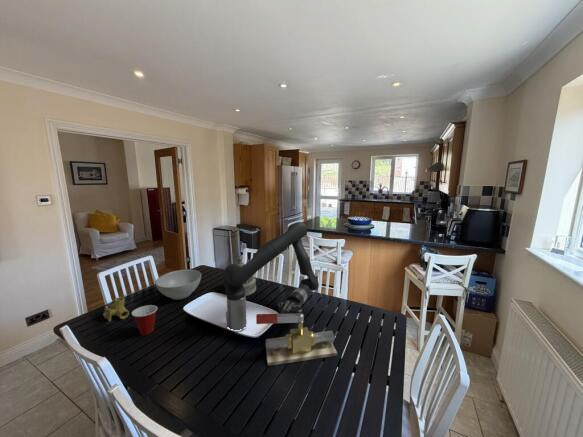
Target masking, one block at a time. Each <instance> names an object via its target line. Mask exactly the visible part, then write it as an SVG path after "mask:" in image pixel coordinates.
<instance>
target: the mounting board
mask: <svg viewBox="0 0 583 437" xmlns="http://www.w3.org/2000/svg"><path fill="white" fill-rule="evenodd" d="M265 351H266V361H267V367H270V366H278V365H283V364H284V365H285V364H289V363H296V362H304V361H309V360H317V359H323V358H330V357H337V356H338V352H337V350H336V348H335V346H334V344H333V342H326V343H319V344H315V346H312V347H311V352H306V353H300V354H293V353H292V349H291V350H287V348H283V349H276V350H268V351H267V349H266V348H265Z"/></svg>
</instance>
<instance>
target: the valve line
mask: <svg viewBox="0 0 583 437" xmlns="http://www.w3.org/2000/svg"><path fill="white" fill-rule="evenodd" d="M303 323H304V322H303ZM303 323H297V328H291V329H290V328H289V333H287V334H285V336H280V337H273V338H266V339H265V350H266V349H267V351H268V350H276V349H283V348H287V350H291V349H292V353H293V354H300V353H306V352H311V347H312V346H315V344H319V343H326V342H332V343H333V342H334V341H335V336H334V332H333V330H327V331H319V332H314V331H312V330H311V331H309V328H308V327H304V325H303Z"/></svg>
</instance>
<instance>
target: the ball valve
mask: <svg viewBox="0 0 583 437" xmlns="http://www.w3.org/2000/svg"><path fill="white" fill-rule="evenodd" d="M125 299H126V298H125V297H124V296H119V297H116V298H115V299H114V301H113V303H111V304H110V306H109V307H108V305H104V312H103V313H102V316H103V318H104V319H107V321H108V322H111V321H112V317H114V316H116V317H119V319H121V320H124V319H126V318H128V317H129V315H130V311H129V310H128V309H126V307H125Z"/></svg>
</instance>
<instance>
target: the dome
mask: <svg viewBox="0 0 583 437" xmlns="http://www.w3.org/2000/svg"><path fill="white" fill-rule="evenodd" d="M236 264H237V265H239V266H240V267H241V266H243V265H245V264H246V263H245V262H243V257H242V256H241V255H240V254H239V256H238V257H237V263H236ZM256 282H257V279H256V277H255V276H254V275H253V276H252V277H250V278H249V279H248V280H247V281H246V282H245V283H244V284H243V287H244V289H245V297H248V296H251V295H252V294H254V293H255V292H256V291H257V285H256Z"/></svg>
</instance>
